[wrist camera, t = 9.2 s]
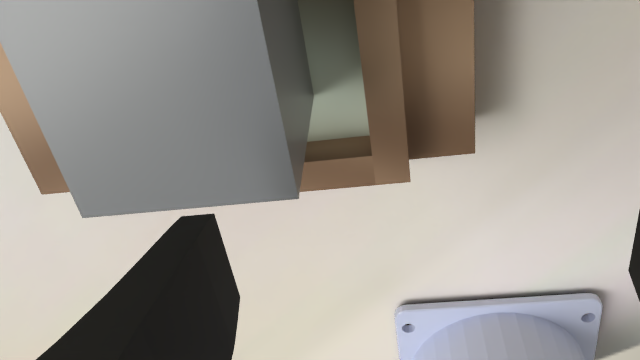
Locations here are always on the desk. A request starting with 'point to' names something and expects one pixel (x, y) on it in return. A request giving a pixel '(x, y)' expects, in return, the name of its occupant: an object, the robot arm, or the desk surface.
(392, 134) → the stand
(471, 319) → the robot arm
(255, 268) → the desk surface
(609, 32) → the desk surface
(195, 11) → the housing
